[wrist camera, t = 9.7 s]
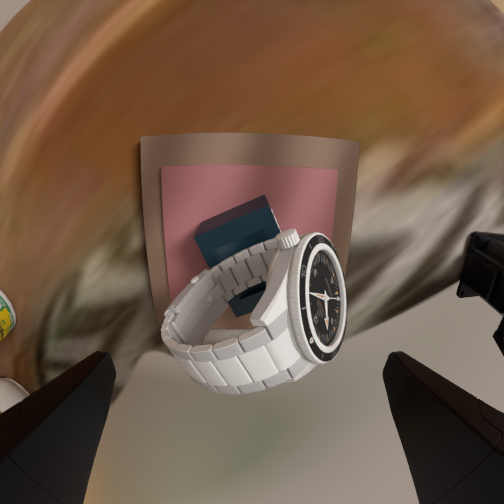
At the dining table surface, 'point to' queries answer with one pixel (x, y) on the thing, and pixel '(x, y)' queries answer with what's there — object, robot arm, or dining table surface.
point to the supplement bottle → (6, 316)
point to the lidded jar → (10, 393)
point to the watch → (258, 303)
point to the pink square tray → (239, 197)
